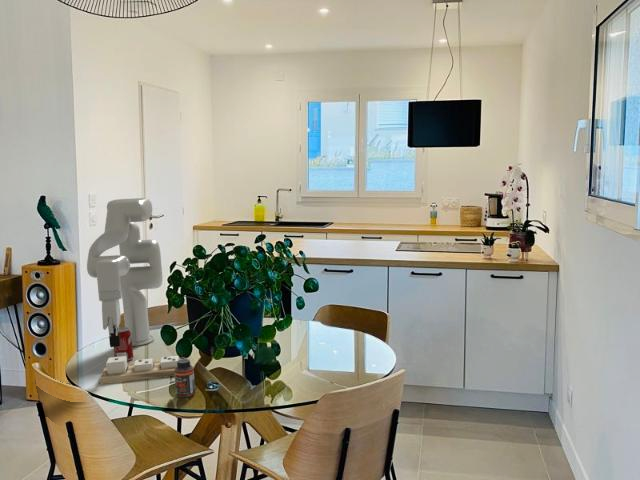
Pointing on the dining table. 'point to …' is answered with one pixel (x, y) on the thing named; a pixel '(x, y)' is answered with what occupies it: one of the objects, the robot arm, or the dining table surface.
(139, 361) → the tile
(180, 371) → the supplement bottle
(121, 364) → the tile
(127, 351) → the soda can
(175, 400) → the dining table surface
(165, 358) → the tile
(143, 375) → the board
